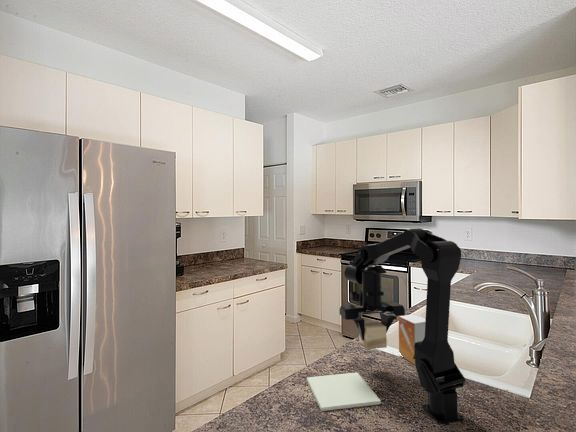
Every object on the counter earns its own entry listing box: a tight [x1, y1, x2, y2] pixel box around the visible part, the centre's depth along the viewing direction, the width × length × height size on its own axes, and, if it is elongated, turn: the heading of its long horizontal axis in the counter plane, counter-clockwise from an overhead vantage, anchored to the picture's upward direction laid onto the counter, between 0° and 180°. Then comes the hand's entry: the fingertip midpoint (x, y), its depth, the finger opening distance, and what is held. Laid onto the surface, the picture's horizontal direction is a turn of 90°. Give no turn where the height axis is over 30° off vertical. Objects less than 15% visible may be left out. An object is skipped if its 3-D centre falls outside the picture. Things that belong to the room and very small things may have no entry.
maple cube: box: [358, 320, 388, 350], centre depth 98 cm, size 6×6×6 cm
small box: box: [398, 314, 426, 366], centre depth 105 cm, size 8×6×13 cm
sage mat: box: [306, 372, 382, 412], centre depth 86 cm, size 15×15×1 cm
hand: (372, 339), depth 98 cm, fingers closed on maple cube, 6 cm apart
